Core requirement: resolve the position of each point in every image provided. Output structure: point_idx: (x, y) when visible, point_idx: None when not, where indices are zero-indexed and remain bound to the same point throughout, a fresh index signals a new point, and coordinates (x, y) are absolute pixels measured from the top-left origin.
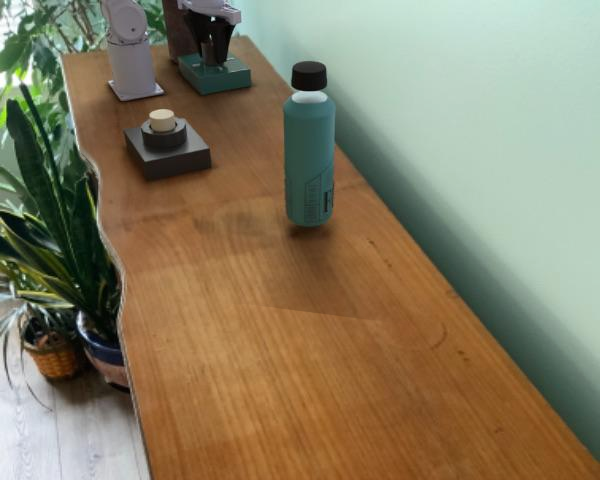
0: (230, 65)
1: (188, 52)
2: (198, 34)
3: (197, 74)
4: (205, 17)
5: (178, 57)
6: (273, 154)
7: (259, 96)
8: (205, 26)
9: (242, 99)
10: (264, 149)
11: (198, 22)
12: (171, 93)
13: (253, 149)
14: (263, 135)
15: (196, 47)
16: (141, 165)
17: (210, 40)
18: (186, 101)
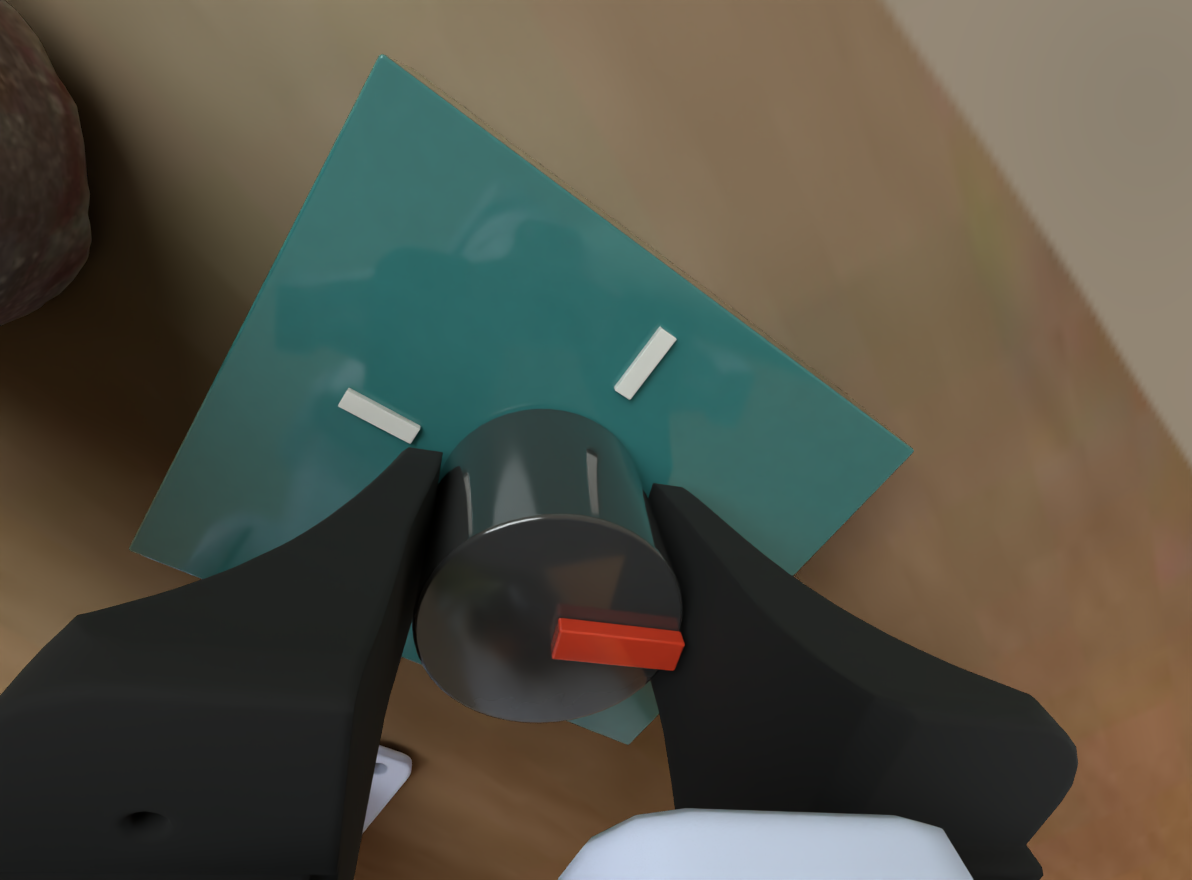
0: (721, 481)
1: (4, 307)
2: (381, 726)
3: (582, 720)
4: (354, 781)
5: (145, 554)
6: (1139, 846)
7: (955, 504)
8: (382, 677)
9: (869, 584)
10: (1101, 840)
11: (352, 854)
12: (436, 720)
13: (1062, 857)
14: (1078, 782)
15: (5, 218)
16: None
17: (530, 627)
18: (587, 742)
